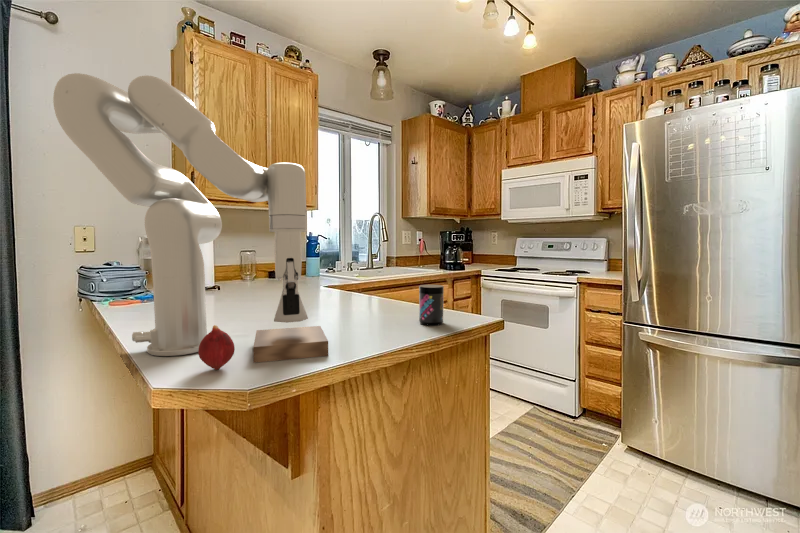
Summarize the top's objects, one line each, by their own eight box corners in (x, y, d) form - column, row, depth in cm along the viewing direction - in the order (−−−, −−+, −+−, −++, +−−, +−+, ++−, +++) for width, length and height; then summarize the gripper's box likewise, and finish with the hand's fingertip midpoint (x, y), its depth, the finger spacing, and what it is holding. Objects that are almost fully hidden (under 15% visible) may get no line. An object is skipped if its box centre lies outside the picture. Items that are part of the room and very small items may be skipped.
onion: (242, 366, 71) (240, 323, 70) (217, 376, 66) (216, 330, 65) (217, 362, 73) (215, 321, 72) (191, 372, 67) (189, 327, 67)
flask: (303, 323, 78) (302, 274, 77) (267, 323, 78) (266, 274, 77) (312, 316, 85) (311, 271, 84) (279, 316, 85) (278, 271, 84)
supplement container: (418, 320, 110) (418, 284, 109) (441, 320, 110) (442, 284, 109) (419, 326, 103) (419, 287, 103) (444, 326, 103) (445, 287, 103)
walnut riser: (253, 362, 73) (253, 347, 73) (256, 343, 86) (256, 330, 86) (328, 355, 77) (328, 340, 77) (320, 338, 91) (320, 325, 90)
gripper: (269, 226, 87) (272, 306, 88) (268, 223, 71) (271, 321, 72) (303, 226, 89) (306, 304, 90) (310, 223, 73) (312, 318, 74)
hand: (290, 311), depth 81 cm, fingers closed on flask, 4 cm apart
